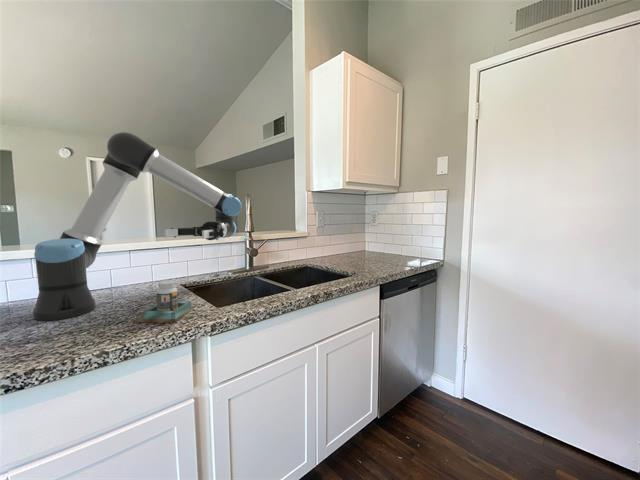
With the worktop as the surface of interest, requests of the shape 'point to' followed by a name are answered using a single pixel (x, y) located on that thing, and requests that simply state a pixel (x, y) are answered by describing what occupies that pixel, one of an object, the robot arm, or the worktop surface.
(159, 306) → the pill bottle
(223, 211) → the robot arm
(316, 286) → the worktop surface
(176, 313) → the socket board
